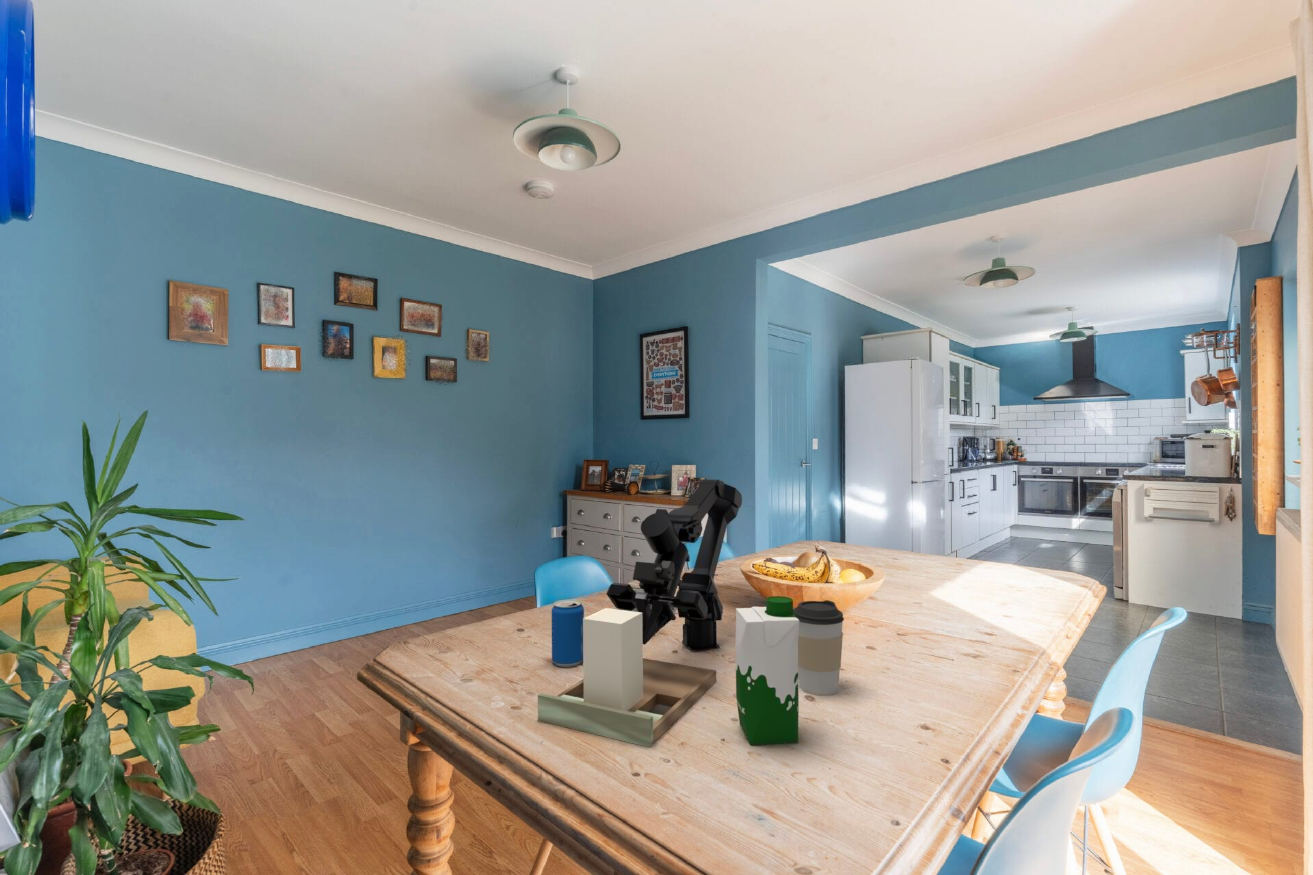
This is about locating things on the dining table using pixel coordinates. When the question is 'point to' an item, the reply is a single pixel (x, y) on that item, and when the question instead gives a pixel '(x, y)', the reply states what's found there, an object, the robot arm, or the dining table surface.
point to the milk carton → (768, 671)
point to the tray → (647, 720)
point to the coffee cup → (819, 646)
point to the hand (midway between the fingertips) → (642, 643)
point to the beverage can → (567, 633)
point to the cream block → (613, 658)
